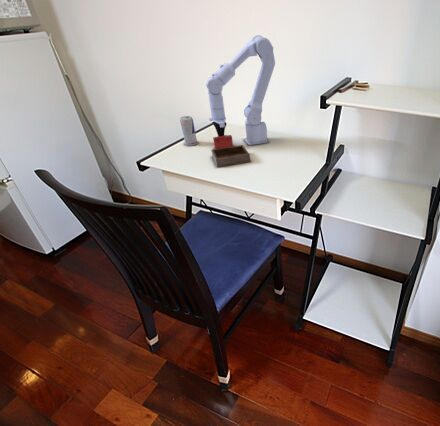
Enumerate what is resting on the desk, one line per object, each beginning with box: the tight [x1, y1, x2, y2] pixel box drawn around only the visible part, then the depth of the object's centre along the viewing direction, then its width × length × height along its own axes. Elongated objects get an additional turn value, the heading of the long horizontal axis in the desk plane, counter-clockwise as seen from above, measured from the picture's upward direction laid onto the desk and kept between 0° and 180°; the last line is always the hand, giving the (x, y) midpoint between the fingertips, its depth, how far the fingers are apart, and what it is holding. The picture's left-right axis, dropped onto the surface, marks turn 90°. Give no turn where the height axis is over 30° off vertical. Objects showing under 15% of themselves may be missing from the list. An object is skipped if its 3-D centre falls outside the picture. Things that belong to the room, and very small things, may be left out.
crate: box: [211, 144, 251, 168], centre depth 127 cm, size 14×10×4 cm
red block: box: [212, 134, 234, 149], centre depth 137 cm, size 8×5×5 cm, turn 115°
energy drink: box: [179, 115, 198, 147], centre depth 137 cm, size 5×5×12 cm
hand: (221, 137), depth 139 cm, fingers closed
